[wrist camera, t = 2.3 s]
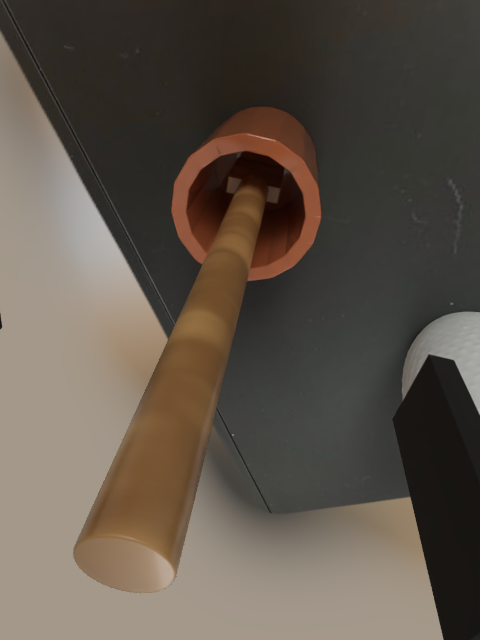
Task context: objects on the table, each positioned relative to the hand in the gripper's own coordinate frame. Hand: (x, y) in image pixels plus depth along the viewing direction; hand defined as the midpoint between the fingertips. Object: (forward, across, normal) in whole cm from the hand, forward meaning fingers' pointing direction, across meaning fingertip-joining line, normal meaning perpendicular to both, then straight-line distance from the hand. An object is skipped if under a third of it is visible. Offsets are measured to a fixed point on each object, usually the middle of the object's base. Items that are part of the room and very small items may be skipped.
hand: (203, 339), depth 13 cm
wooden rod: (+20, 0, 0) cm, 20 cm away
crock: (+21, 0, 0) cm, 21 cm away
